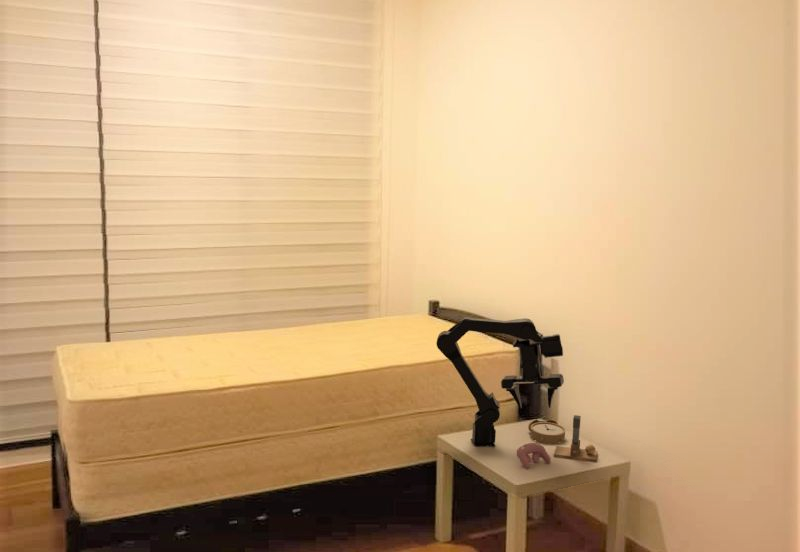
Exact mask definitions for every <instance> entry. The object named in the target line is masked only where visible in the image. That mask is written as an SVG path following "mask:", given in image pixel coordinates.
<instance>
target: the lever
mask: <svg viewBox="0 0 800 552" xmlns="http://www.w3.org/2000/svg"><path fill="white" fill-rule="evenodd" d="M581 417H582V416H581V415H576V414H575V415H573V420H572V429H573V430H572V439H573V440H572V439H571V444H577V445H579V440H580V433H581V432H580V428H581V420H582V419H581Z"/></svg>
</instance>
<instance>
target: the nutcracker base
mask: <svg viewBox="0 0 800 552" xmlns="http://www.w3.org/2000/svg"><path fill="white" fill-rule="evenodd" d="M572 440H573V438H572V439H571V441H572ZM580 447H581V439H579V445H577V444H572V443H571V444H570V447H568V446H562V445H561V446H559V445H556V446H555V449H554V453H553V457H554V458H559V459H570V460H578V461H583V462H585V461H586V462H594V463H596V462H597V459H598V458H597V457H598V450H596V447H595V446H594V445H593V444H587V445H586V446H585V447H584V448H585V449H584V448H580Z"/></svg>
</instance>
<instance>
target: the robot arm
mask: <svg viewBox="0 0 800 552" xmlns="http://www.w3.org/2000/svg"><path fill="white" fill-rule="evenodd" d="M468 332H480V333H491V334H492V333H493V334H504V335H509V336H510V337H513V338H515V340H514V342H512V347H513V348H518V349H519V351H518V352H519V359H520V372H521V375H522V377H521V378H518V376H517V375H505V376H504V378H502V379H501V382H500V385H501V389H505V391H506V392H508V393H510V395H511V396H512V397H513V399H514V400H515V402H516V404H517V406H518V408H519V409H522V407H523V406H522V405H523V404H522V400H521V398H522V397H521V395H520V385H547V386H548V387H547V405H548V408H549V409H551V407H552V403H553V398H554V395H555V391H556V390H558V389H559V388H561V387H562V386H563V384H564V375H563V374H562V373H553V374H552V373H550V374H549V375H548V377H543V376H545V374H544V365H542V364H541V362H540V357H539V353H540V355H541V356H543V357H544V358H545V359H546V358H547V359H548V358H556V357H557V358H558V357H563V356H564V350H563V345H562V341H561V335H560V334H558V333H557V334H552V335H544V336H542V334H541V332H539V331H538V330H537V329H536V325H535V324H534V322H533V320H531V319H530V318H525V317H524V318H516V319H511V320H510V319H508V320H499V319H489V318H488V319H486V318H475V317H474V318H473V317H469V316H464V317H462V319H460V320H459V322H457V323H456V324H454V325H453V326H452V327H450V328H448V330H443V331H441V332H440V333H439V334H438V335H437V339H436V348H437V349H438V350H439V351H440V352H441V354H443V356H445V358H446V359H447V360H448V361H450V362H451V363H452V365H453V366H454V368H455V370H456V371H457V372H458V374H459V376H460V378H461V379H462V381H463V383H464V384H465V385H466V387H467V389H468V390H469V391H470V393H471V395H472V396H473V398H474V400H475V403H476V406H477V408H478V410H477V412H475V413H474V422H472V438H470V441H471V443H472V444H473V446H474V447H495V446H496V444H495V443H496V435H497V430H496V428H495V425H494V423H496V422H497V421H498V420H499V419H500V415H501V412H500V408H501V406H500V401H498V400H497V398H496V396H495V394H494V392H491V393H490V394H489V393H488V392H487V391H486V390H485V389H484V387H483V385H482V384H481V382H480V381H479V379H478V378H477V376H476V374H475V373H474V371H473V370H472V368H471V367H470V365H469V363H468V361H467V360H466V359H465V357H464V355H463V354H462V352H461V348H460V346H459V343H458V342H459V340H461V339H462V337H464V336H465V334H467V333H468ZM530 340H531V341H530ZM538 347H539V348H538Z"/></svg>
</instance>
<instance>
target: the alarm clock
mask: <svg viewBox="0 0 800 552" xmlns="http://www.w3.org/2000/svg"><path fill="white" fill-rule="evenodd" d="M528 431H529V433H530V434H529V436H530V438H531V439H532V440H533V441H535V440H536V441H535V442H538V441H539V443H542V442H543V443H544V444H559V442H561V443H563V442H564V441H565V440H564V439H566V429H565V428H564V426H563V425H560V424H559V423H558V422H557V421H556V420H555V419H548V420H538V419H532V420H530V422H529V423H528ZM562 441H563V442H562ZM543 443H542V444H543Z"/></svg>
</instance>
